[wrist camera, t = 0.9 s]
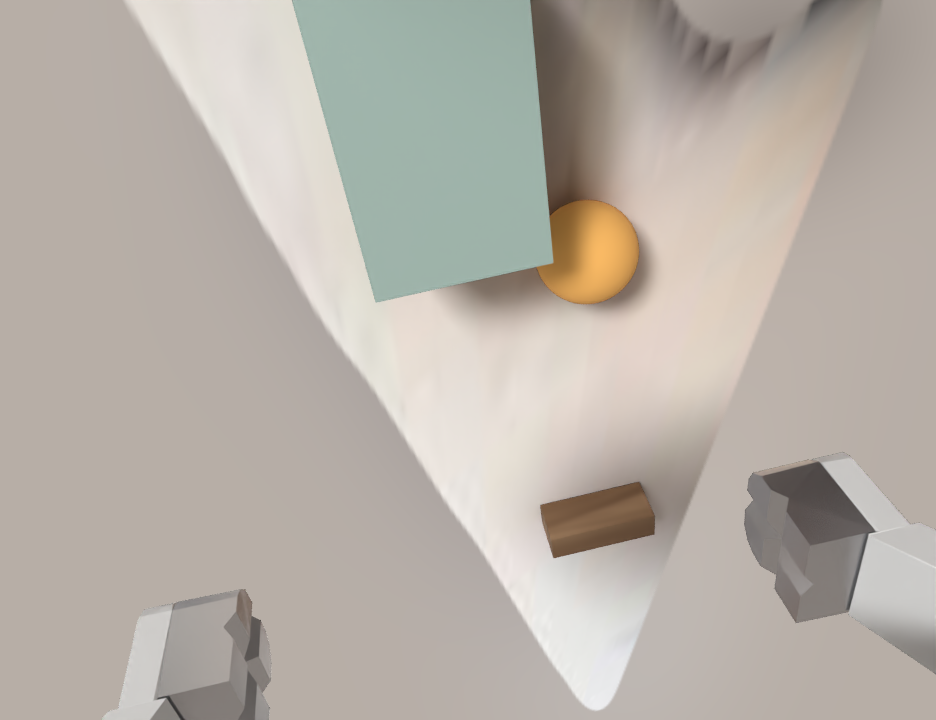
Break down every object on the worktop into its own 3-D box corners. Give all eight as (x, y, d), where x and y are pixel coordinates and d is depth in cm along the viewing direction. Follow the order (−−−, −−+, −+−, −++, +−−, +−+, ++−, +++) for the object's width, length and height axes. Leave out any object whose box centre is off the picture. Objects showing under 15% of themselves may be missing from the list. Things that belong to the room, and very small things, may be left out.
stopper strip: (540, 505, 52) (551, 540, 50) (639, 481, 53) (654, 515, 50) (542, 523, 54) (553, 558, 51) (639, 500, 54) (654, 534, 52)
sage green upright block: (292, -62, 29) (291, -1, 22) (473, -98, 29) (525, -50, 23) (360, 197, 36) (375, 302, 29) (506, 166, 36) (553, 263, 30)
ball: (523, 189, 37) (549, 240, 33) (622, 175, 38) (659, 224, 34) (524, 275, 40) (548, 331, 37) (616, 262, 41) (649, 316, 37)
